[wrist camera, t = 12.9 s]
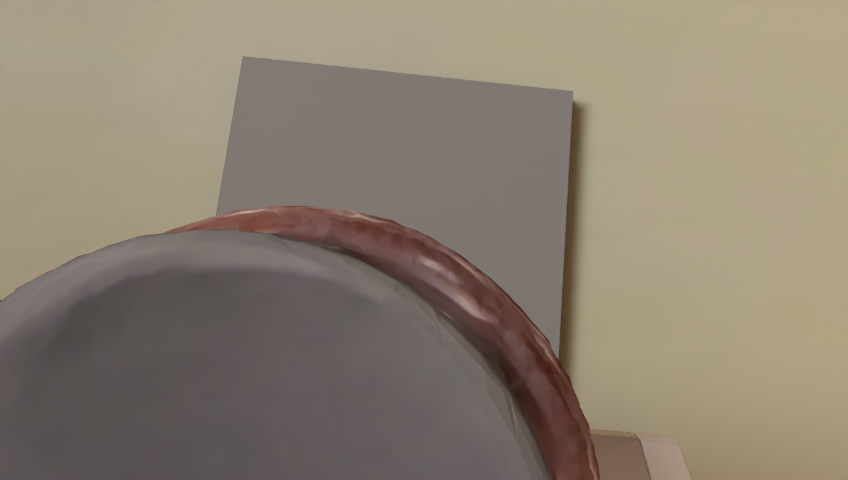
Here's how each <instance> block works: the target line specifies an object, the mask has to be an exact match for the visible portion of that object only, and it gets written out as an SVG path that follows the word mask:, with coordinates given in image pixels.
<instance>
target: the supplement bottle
mask: <svg viewBox="0 0 848 480" xmlns="http://www.w3.org/2000/svg"><path fill="white" fill-rule="evenodd" d="M0 480H600V473H599V466H598V462H597V459H596V455H595V447H594V444H593V442H592V440H591V435H590V429H589V424H588V422H587V420H586V418H585V417H584V414H583V412H582V410H581V408H580V405H579V401H578V399H577V396H576V394H575V392H574V390H573V387H572V384H571V381H570V377H569V376H568V374H567V373H566V372H565V371H564V369H563V368H562V365H561V362H560V361H559V359H558V358H557V357H556V355H555V353H554V352H553V350H552V349H551V345H550V341H549V340H548V339H547V338H546V336H545V335H544V334H543V333H542V332H541V331H540V330H539V328H538V327H537V326H536V325H535V324H534V323H533V322H532V321H531V319H530V318H529V317H528V316H527V314H526V313H525V312H524V311H523V309H522V308H521V307H520V306H519V305H518V304H517V303H516V302H515V301H514V300H513V299H512V298H511V297H510V296H509V295H508V294H507V293H506V292H505V291H504V290H503V289H502V288H501V287H500V286H499V285H498V284H497V283H496V282H494V281H493V280H492V279H491V278H490V277H489V276H487V275H486V274H485V273H483V272H482V271H481V270H480V269H478V268H477V267H476V266H474V265H473V264H472V263H470V262H469V261H468V260H467V259H465V258H464V257H463V256H462V255H460V254H459V253H457V252H456V251H454V250H452V249H450V248H448V247H446V246H444V245H442V244H441V243H439V242H438V241H436V240H434V239H433V238H431V237H430V236H428V235H425V234H423V233H421V232H419V231H417V230H414V229H411V228H408V227H405V226H402V225H401V224H399V223H397V222H395V221H393V220H390V219H384V218H380V217H377V216H372V215H367V214H363V213H360V212H358V211H351V210H344V209H324V208H319V207H311V206H277V205H273V206H269V207H265V208H261V209H243V210H237V211H232V212H228V213H225V214H221V215H218V216H215V217H211V218H208V219H205V220H201V221H198V222H195V223H191V224H188V225H185V226H182V227H179V228H176V229H173V230H170V231H167V232H165V233H163V234H154V235H146V236H138V237H135V238H132V239H129V240H126V241H122V242H119V243H116V244H113V245H109V246H106V247H104V248H101V249H99V250H97V251H95V252H92V253H89V254H85V255H82V256H78V257H76V258H74V259H72V260H71V261H69V262H67V263H65V264H63V265H61V266H59V267H57V268H56V269H54V270H51V271H49V272H47V273H45V274H43V275H41V276H39V277H37V278H36V279H34V280H32V281H30V282H28V283H26V284H24V285H22V286H21V287H19V288H17V289H16V290H15V291H14V292H13V293H12V294H10V295H9V296H7V297H6V298H4V299H3V300H0Z"/></svg>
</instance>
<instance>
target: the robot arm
mask: <svg viewBox="0 0 848 480" xmlns="http://www.w3.org/2000/svg"><path fill="white" fill-rule="evenodd" d="M590 435H591V440H592V442H593V444H594V447H595V455H596V459H597V462H598V466H599V473H600V480H691V477H690V474H689V471H688V468H687V465H686V462H685V460H684V457H683V454H682V451H681V448H680V445H679V443H678V442H677V441H676V440H675V439H674V438H673V437H669V436H658V435H648V434H638V433H634V434H632V433H629V432H619V431H608V430H598V429H590Z"/></svg>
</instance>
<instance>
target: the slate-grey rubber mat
mask: <svg viewBox="0 0 848 480" xmlns="http://www.w3.org/2000/svg"><path fill="white" fill-rule="evenodd" d="M572 103H573V91H565V90H556V89H546V88H537V87H527V86H518V85H509V84H499V83H490V82H480V81H471V80H461V79H452V78H442V77H433V76H423V75H414V74H404V73H395V72H386V71H376V70H367V69H357V68H348V67H338V66H329V65H319V64H310V63H300V62H291V61H282V60H272V59H263V58H253V57H244V56H243V59H242V65H241V70H240V76H239V82H238V88H237V94H236V100H235V106H234V112H233V118H232V124H231V130H230V135H229V141H228V147H227V153H226V159H225V165H224V171H223V177H222V183H221V189H220V194H219V200H218V206H217V212H216V216H218V215H221V214H225V213H228V212H232V211H237V210H243V209H261V208H265V207H269V206H273V205H277V206H311V207H319V208H324V209H344V210H351V211H358V212H360V213H363V214H367V215H372V216H377V217H380V218H384V219H390V220H393V221H395V222H397V223H399V224H401V225H402V226H405V227H408V228H411V229H414V230H417V231H419V232H421V233H423V234H425V235H428V236H430V237H431V238H433V239H434V240H436V241H438V242H439V243H441V244H442V245H444V246H446V247H448V248H450V249H452V250H454V251H456V252H457V253H459V254H460V255H462V256H463V257H464V258H465V259H467V260H468V261H469V262H470V263H472V264H473V265H474V266H476V267H477V268H478V269H480V270H481V271H482V272H483V273H485V274H486V275H487V276H489V277H490V278H491V279H492V280H493V281H494V282H496V283H497V284H498V285H499V286H500V287H501V288H502V289H503V290H504V291H505V292H506V293H507V294H508V295H509V296H510V297H511V298H512V299H513V300H514V301H515V302H516V303H517V304H518V305H519V306H520V307H521V308H522V309H523V311H524V312H525V313H526V314H527V316H528V317H529V318H530V319H531V321H532V322H533V323H534V324H535V325H536V326H537V327H538V328H539V330H540V331H541V332H542V333H543V334H544V335H545V336H546V338H547V339H548V340H549V341H550V345H551V349H552V350H553V352H554V353H555V355H556V357H557V358H558V359H559V341H560V323H561V305H562V286H563V268H564V249H565V231H566V213H567V194H568V176H569V158H570V139H571V121H572Z"/></svg>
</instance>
